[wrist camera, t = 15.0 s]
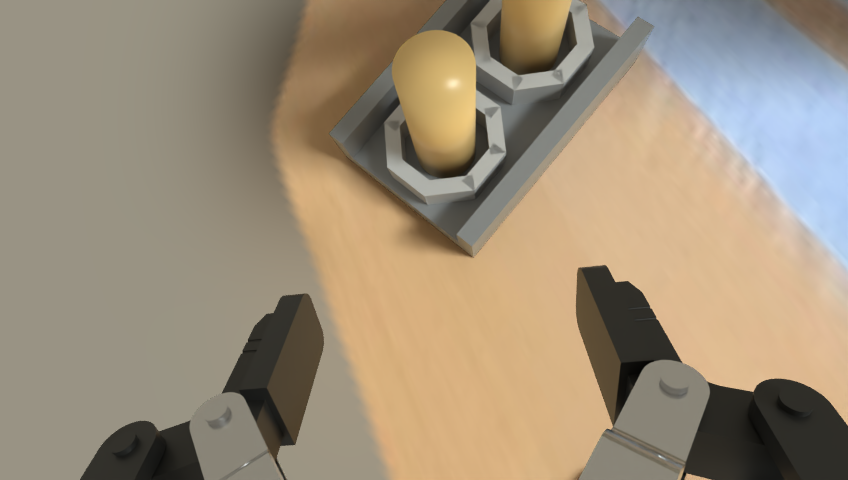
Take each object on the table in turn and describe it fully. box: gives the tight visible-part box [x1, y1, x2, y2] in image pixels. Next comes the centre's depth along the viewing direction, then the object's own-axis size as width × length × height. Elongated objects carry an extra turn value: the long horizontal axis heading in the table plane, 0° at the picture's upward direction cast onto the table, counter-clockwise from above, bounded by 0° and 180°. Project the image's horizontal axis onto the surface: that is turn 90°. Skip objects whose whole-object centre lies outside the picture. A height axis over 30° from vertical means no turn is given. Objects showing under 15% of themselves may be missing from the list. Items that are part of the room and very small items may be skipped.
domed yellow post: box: [392, 30, 476, 178], centre depth 27 cm, size 4×4×10 cm
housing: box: [329, 0, 654, 258], centre depth 28 cm, size 18×12×12 cm, turn 140°
